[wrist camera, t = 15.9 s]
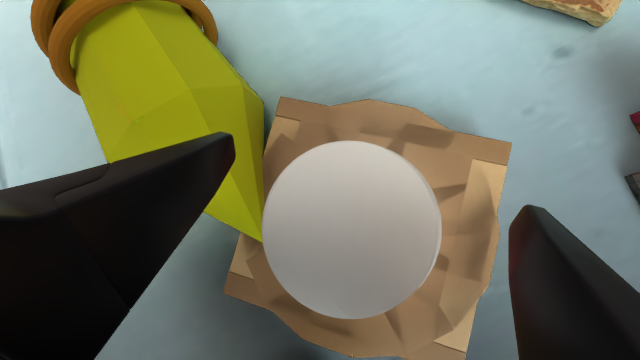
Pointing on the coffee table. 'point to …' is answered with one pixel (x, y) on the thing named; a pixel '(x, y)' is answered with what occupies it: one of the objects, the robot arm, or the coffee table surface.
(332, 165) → the pill bottle
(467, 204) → the socket pad
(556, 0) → the shard
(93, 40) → the plumb bob
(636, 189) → the numbered block arch
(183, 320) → the coffee table surface
